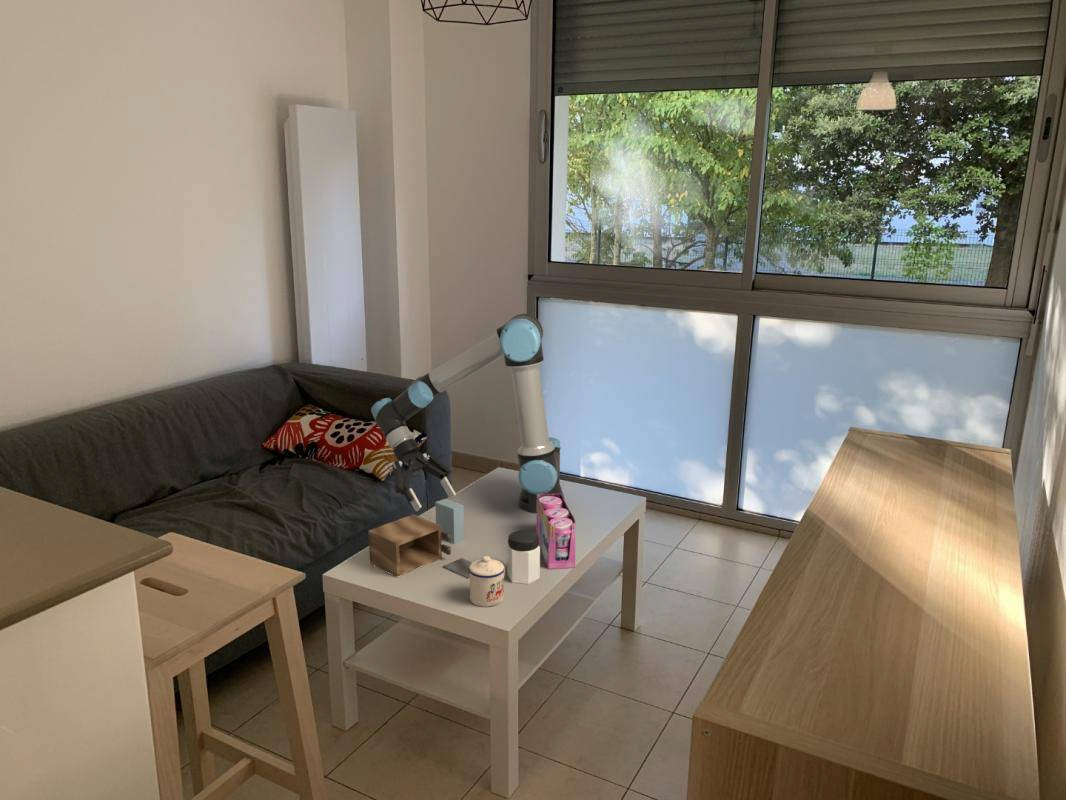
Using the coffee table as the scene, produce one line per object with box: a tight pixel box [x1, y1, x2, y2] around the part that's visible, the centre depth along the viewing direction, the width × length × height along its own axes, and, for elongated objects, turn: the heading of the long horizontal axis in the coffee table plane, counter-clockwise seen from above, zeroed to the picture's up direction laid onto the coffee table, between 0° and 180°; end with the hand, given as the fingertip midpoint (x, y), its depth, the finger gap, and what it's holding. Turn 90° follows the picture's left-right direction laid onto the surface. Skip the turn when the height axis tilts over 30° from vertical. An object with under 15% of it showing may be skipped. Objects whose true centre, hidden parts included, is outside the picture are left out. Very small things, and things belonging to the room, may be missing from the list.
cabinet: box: [368, 513, 473, 579], centre depth 227 cm, size 20×26×10 cm
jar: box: [506, 529, 541, 585], centre depth 221 cm, size 9×8×12 cm
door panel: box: [434, 498, 465, 545], centre depth 245 cm, size 8×4×11 cm, turn 48°
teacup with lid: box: [469, 555, 506, 608], centre depth 210 cm, size 12×9×12 cm
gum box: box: [536, 494, 577, 570], centre depth 236 cm, size 24×8×14 cm, turn 9°
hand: (436, 503), depth 247 cm, fingers open, 13 cm apart
